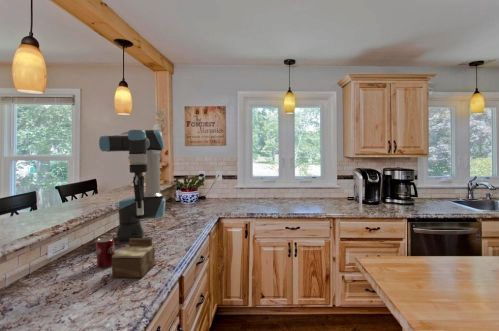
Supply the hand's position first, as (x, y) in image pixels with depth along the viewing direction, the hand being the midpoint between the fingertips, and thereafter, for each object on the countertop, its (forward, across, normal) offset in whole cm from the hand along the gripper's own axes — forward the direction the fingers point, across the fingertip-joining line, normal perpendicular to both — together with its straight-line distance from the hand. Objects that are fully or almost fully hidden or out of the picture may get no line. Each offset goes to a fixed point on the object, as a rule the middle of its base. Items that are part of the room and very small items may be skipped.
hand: (140, 214), depth 135 cm
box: (+22, +12, -1) cm, 25 cm away
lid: (+14, +11, -1) cm, 18 cm away
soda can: (+22, +2, -15) cm, 27 cm away
